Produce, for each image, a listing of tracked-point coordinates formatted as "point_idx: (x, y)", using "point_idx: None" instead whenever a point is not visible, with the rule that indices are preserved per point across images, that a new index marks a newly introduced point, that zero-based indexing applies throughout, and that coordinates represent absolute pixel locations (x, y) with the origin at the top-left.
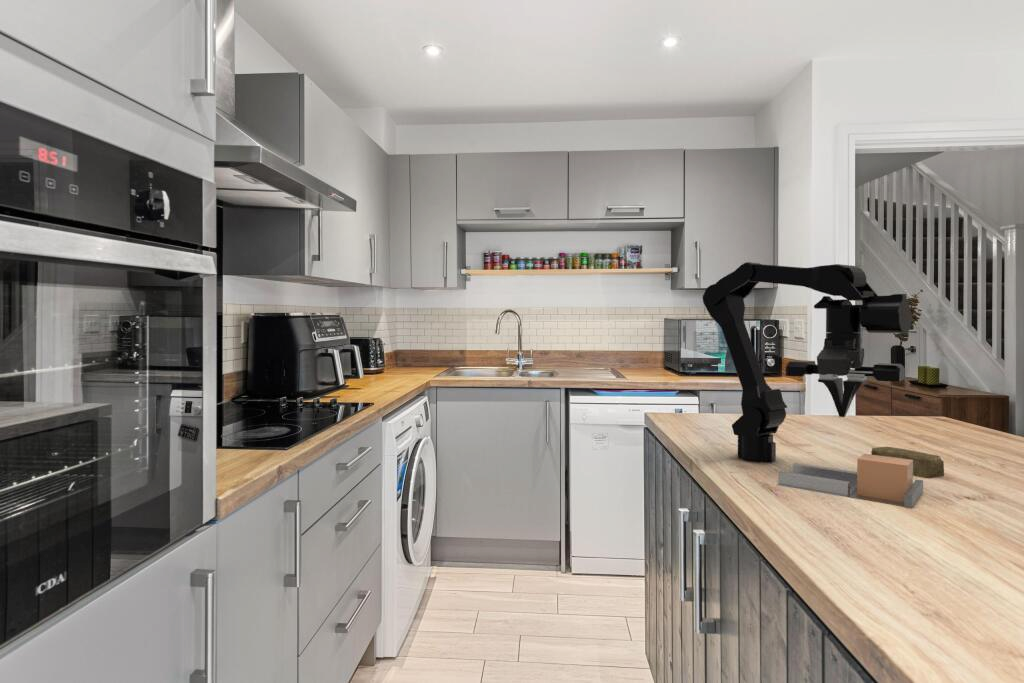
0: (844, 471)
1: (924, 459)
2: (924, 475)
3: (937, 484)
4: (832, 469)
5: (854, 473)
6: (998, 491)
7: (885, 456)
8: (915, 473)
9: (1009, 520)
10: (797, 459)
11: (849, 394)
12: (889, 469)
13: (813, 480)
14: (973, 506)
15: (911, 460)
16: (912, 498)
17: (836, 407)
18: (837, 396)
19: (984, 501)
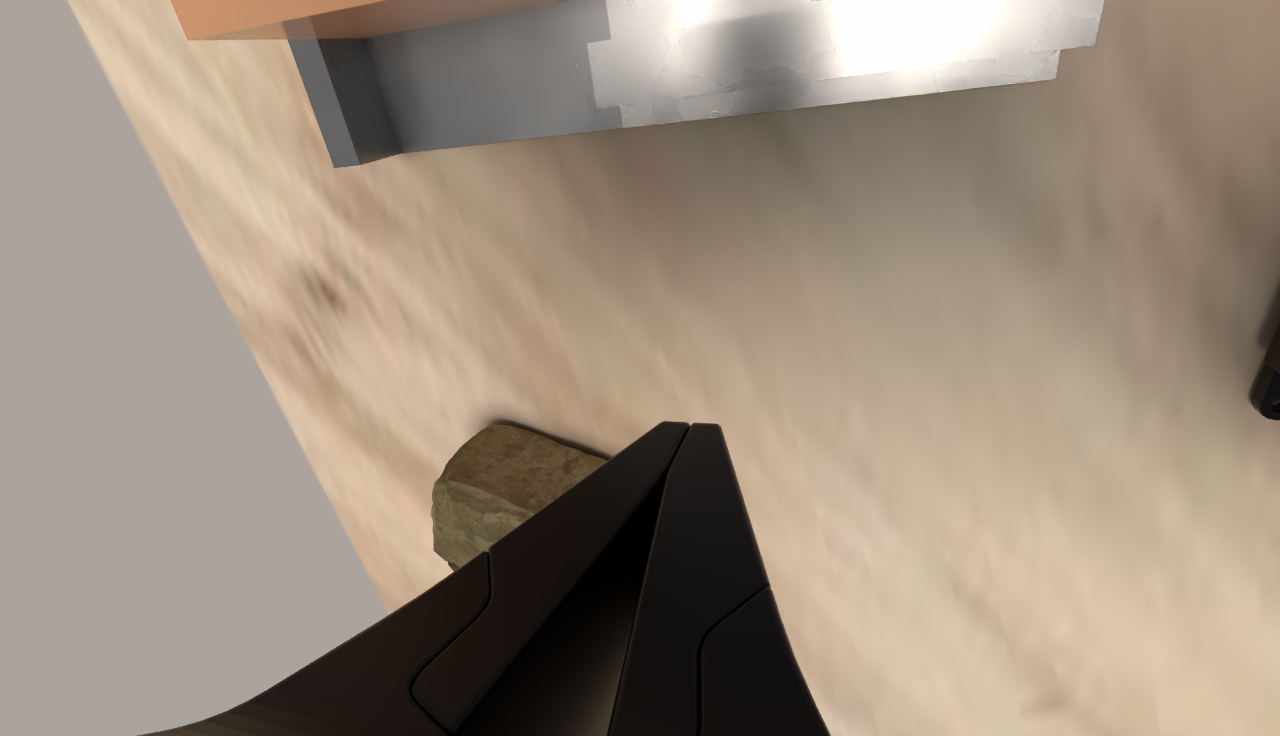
0: (681, 48)
1: (447, 479)
2: (486, 436)
3: (467, 424)
4: (766, 47)
5: (614, 40)
6: (330, 439)
7: (324, 10)
8: (517, 445)
9: (105, 48)
10: (1099, 554)
11: (396, 639)
12: None
13: None
14: (254, 170)
15: (176, 4)
16: None
17: (730, 484)
18: (658, 625)
19: (280, 277)
